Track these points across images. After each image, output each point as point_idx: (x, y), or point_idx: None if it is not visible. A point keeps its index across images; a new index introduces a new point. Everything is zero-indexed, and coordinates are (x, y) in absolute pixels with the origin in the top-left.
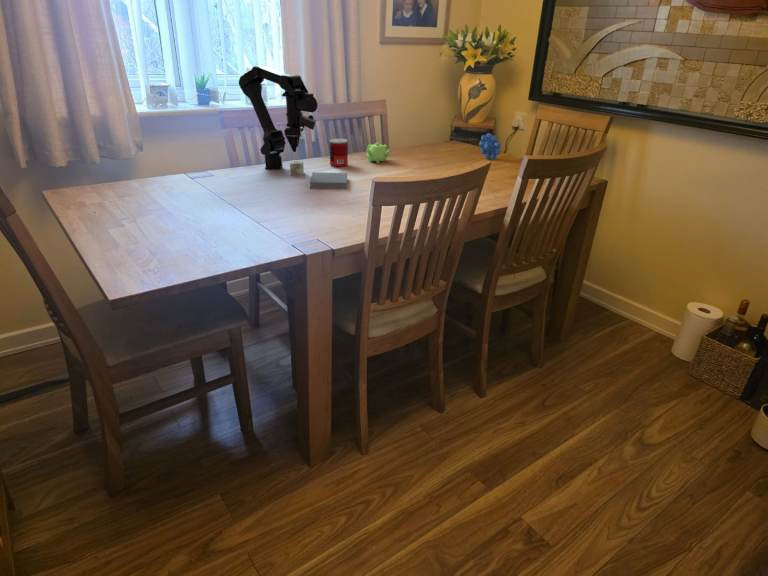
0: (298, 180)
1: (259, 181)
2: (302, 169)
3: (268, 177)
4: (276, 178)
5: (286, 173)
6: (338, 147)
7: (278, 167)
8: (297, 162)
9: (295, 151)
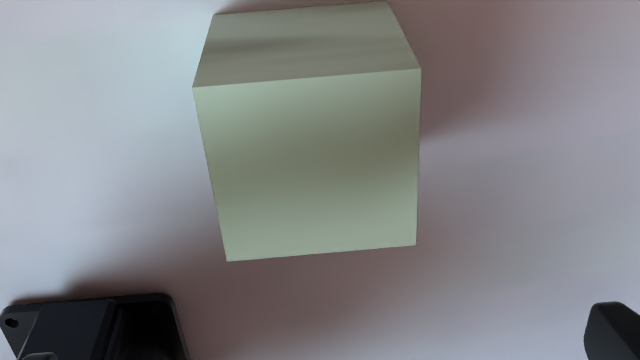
0: (636, 13)
1: None
2: (387, 30)
3: (477, 319)
4: (518, 253)
5: None
6: None
7: (134, 320)
8: (342, 156)
9: (626, 314)
